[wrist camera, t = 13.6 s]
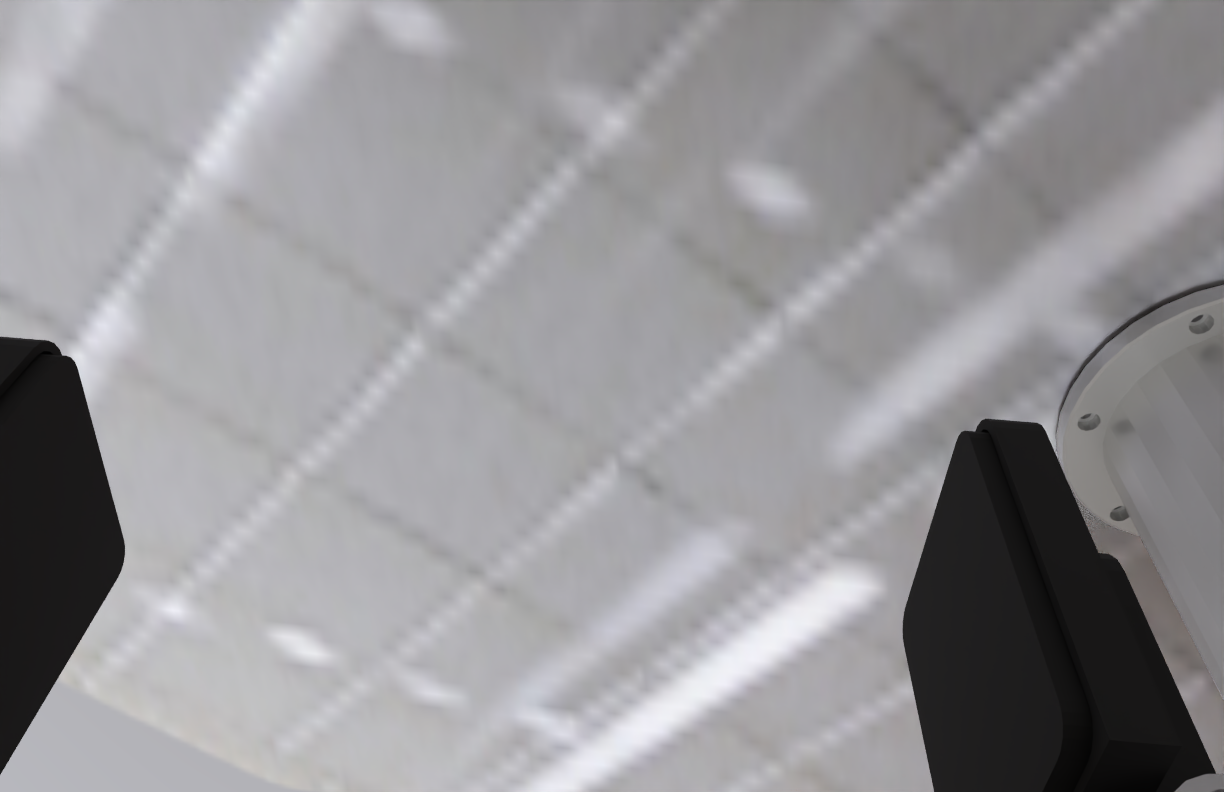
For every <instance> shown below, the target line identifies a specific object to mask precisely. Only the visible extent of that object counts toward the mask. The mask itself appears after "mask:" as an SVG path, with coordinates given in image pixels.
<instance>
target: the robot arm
mask: <svg viewBox="0 0 1224 792" xmlns="http://www.w3.org/2000/svg"><path fill="white" fill-rule="evenodd" d="M1056 440H1057V451H1058V459H1059V461H1058V459H1057V457H1056V454H1055V452H1054V450H1053V447H1052V445H1051V443H1050V440H1049V438H1048V436H1047V433H1046V431H1045V430H1044V428H1043V427H1042V425H1040V424H1038V423H1031V422H1019V421H1007V420H995V419H984V420H982V421H981V422H980V424H979V425H978V426H977V429H976V431H975V432H973V431H963V432H961V434H960V435H959V437H958V439H957V442H956V445H955V448H954V451H953V454H952V458H951V461H950V464H949V467H948V471H947V474H946V477H945V480H944V484H943V487H942V490H941V493H940V497H939V500H938V503H937V506H936V510H935V513H934V516H933V519H932V523H931V526H930V529H929V532H928V536H927V539H926V542H925V545H924V549H923V552H922V555H921V558H920V562H919V565H918V568H917V571H916V575H915V578H914V581H913V584H912V588H911V591H910V594H909V597H908V601H907V604H906V607H905V612H904V618H903V641H904V647H905V652H906V657H907V661H908V666H909V671H910V676H911V681H912V686H913V691H914V695H915V700H916V705H917V710H918V715H919V720H920V725H921V729H922V734H923V739H924V744H925V749H926V754H927V759H928V763H929V768H930V773H931V778H932V783H933V788H934V792H1224V774H1216V772H1215V770H1214V768H1213V766H1212V763H1211V761H1210V759H1209V757H1208V754H1207V752H1206V750H1205V748H1204V746H1203V743H1202V741H1201V739H1200V737H1199V735H1198V732H1197V730H1196V728H1195V726H1194V724H1193V721H1192V719H1191V717H1190V715H1189V713H1188V710H1187V708H1186V706H1185V704H1184V701H1183V699H1182V697H1181V695H1180V693H1179V690H1178V688H1177V686H1176V684H1175V682H1174V679H1173V677H1172V675H1171V673H1170V671H1169V668H1168V666H1167V664H1166V662H1165V659H1164V657H1163V655H1162V653H1161V651H1160V648H1159V646H1158V644H1157V642H1156V640H1155V637H1154V635H1153V633H1152V631H1151V629H1150V626H1149V624H1148V622H1147V620H1146V618H1145V615H1144V613H1143V611H1142V609H1141V606H1140V604H1139V602H1138V600H1137V598H1136V595H1135V593H1134V591H1133V589H1132V587H1131V584H1130V582H1129V580H1128V578H1127V576H1126V573H1125V571H1124V570H1123V568H1122V566H1121V565H1120V563H1119V562H1118V560H1117V559H1115V558H1114V557H1113V556H1111V555H1110V554H1103V553H1098V551H1097V549H1096V546H1095V544H1094V542H1093V540H1092V537H1091V535H1090V533H1089V530H1088V528H1087V526H1086V523H1085V521H1084V519H1083V516H1082V514H1081V512H1080V510H1079V507H1078V505H1077V503H1076V500H1075V498H1074V496H1073V493H1072V491H1073V492H1074V494H1075V496H1076V498H1077V499H1078V500H1079V501H1080V502H1081V503H1082V505H1083V506H1084V507H1085V508H1086V509H1087V510H1088V511H1089V512H1090V513H1091V514H1092V515H1094V516H1095V517H1097V518H1098V519H1100V520H1101V521H1103V522H1104V523H1106V524H1108V525H1109V526H1112V527H1114V528H1117V529H1119V530H1122V531H1125V532H1127V533H1130V534H1133V535H1137V536H1140V538H1141V540H1142V542H1143V544H1144V546H1145V548H1146V550H1147V551H1148V553H1149V555H1150V557H1151V559H1152V561H1153V563H1154V565H1155V567H1156V569H1157V571H1158V573H1159V575H1160V577H1161V579H1162V581H1163V583H1164V585H1165V587H1166V589H1167V591H1168V593H1169V595H1170V597H1171V598H1172V600H1173V602H1174V604H1175V606H1176V608H1177V610H1178V612H1179V614H1180V616H1181V618H1182V620H1183V622H1184V624H1185V626H1186V628H1187V630H1188V632H1189V634H1190V636H1191V638H1192V640H1193V642H1194V644H1195V646H1196V647H1197V649H1198V651H1199V653H1200V655H1201V657H1202V659H1203V661H1204V663H1205V665H1206V667H1207V669H1208V671H1209V673H1210V675H1211V677H1212V679H1213V681H1214V683H1215V685H1216V687H1217V689H1218V691H1219V693H1220V694H1221V696H1222V698H1223V700H1224V285H1221V286H1217V287H1213V288H1209V289H1205V290H1202V291H1198V292H1195V293H1192V294H1190V295H1188V296H1185V297H1183V298H1180V299H1178V300H1175V301H1173V302H1171V303H1168V304H1166V305H1163V306H1162V307H1160V308H1158V309H1156V310H1155V311H1153V312H1151V313H1150V314H1148V315H1146V316H1144V317H1143V318H1141V319H1139V320H1137V321H1136V322H1134V323H1132V324H1131V325H1130V326H1129V327H1127V328H1126V329H1125V330H1124V331H1122V332H1121V333H1120V334H1118V335H1117V336H1116V337H1115V338H1113V339H1112V340H1111V341H1110V342H1108V343H1107V344H1106V345H1105V346H1104V347H1103V348H1102V349H1101V350H1100V351H1099V352H1098V354H1097V355H1096V356H1095V357H1094V358H1093V359H1092V360H1091V361H1090V362H1089V363H1088V364H1087V365H1086V366H1085V368H1084V369H1083V371H1082V372H1081V374H1080V375H1079V377H1078V378H1077V380H1076V381H1075V383H1074V384H1073V386H1072V387H1071V389H1070V391H1069V393H1068V396H1067V398H1066V400H1065V403H1064V405H1063V408H1062V410H1061V412H1060V417H1059V423H1058V429H1057V435H1056ZM1059 462H1060V463H1059ZM1060 464H1061V466H1060ZM1061 467H1062V468H1061ZM1063 472H1064V473H1063ZM1068 483H1069V484H1068ZM1069 485H1070V486H1069ZM1070 487H1071V489H1072V491H1071V489H1070ZM124 556H125V544H124V538H123V535H122V531H121V527H120V524H119V520H118V516H117V513H116V509H115V505H114V502H113V498H112V494H111V490H110V487H109V483H108V479H107V476H106V472H105V468H104V465H103V461H102V457H101V453H100V450H99V446H98V442H97V439H96V435H95V431H94V428H93V424H92V420H91V417H90V413H89V409H88V405H87V402H86V398H85V394H84V391H83V387H82V383H81V380H80V376H79V372H78V369H77V366H76V364H75V362H74V361H73V359H72V358H70V357H68V356H62V354H61V352H60V349H59V348H58V347H57V346H56V345H55V344H54V343H52V342H50V341H46V340H34V339H22V338H10V337H0V774H1V773H2V771H3V769H4V767H5V766H6V764H7V762H8V761H9V759H10V757H11V756H12V754H13V752H14V751H15V749H16V747H17V746H18V744H19V742H20V741H21V739H22V737H23V736H24V734H25V732H26V731H27V729H28V727H29V725H30V724H31V722H32V721H33V719H34V717H35V716H36V714H37V712H38V710H39V709H40V707H41V705H42V704H43V702H44V700H45V699H46V697H47V695H48V694H49V692H50V690H51V689H52V687H53V685H54V684H55V682H56V680H57V679H58V677H59V675H60V674H61V672H62V670H63V669H64V667H65V665H66V664H67V662H68V660H69V659H70V657H71V655H72V654H73V652H74V650H75V649H76V647H77V645H78V643H79V642H80V640H81V638H82V637H83V635H84V633H85V632H86V630H87V628H88V627H89V625H90V623H91V622H92V620H93V618H94V617H95V615H96V613H97V612H98V610H99V608H100V607H101V605H102V603H103V602H104V600H105V598H106V597H107V595H108V593H109V592H110V590H111V588H112V587H113V585H114V583H115V581H116V580H117V578H118V576H119V574H120V572H121V569H122V566H123V563H124Z"/></svg>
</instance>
